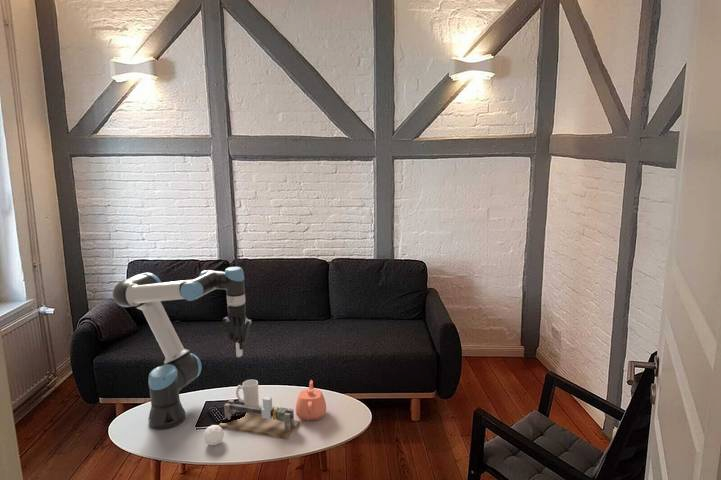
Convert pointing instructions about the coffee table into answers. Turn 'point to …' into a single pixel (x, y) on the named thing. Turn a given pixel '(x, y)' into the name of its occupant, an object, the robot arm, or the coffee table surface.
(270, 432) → the din rail terminal board
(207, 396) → the coffee table surface
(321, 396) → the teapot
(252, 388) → the mug
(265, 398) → the white stepped block
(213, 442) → the geometric ball
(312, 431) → the coffee table surface
